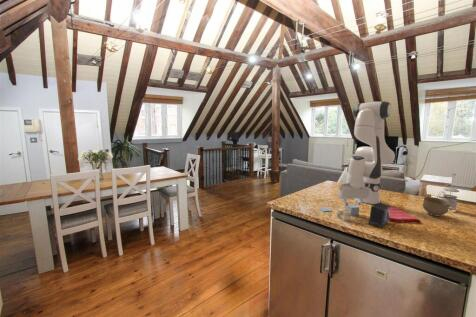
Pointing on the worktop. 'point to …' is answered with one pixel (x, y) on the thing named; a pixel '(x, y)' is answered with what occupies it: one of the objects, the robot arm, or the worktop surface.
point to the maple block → (343, 214)
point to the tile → (325, 209)
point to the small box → (379, 215)
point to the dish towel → (400, 215)
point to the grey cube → (353, 209)
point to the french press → (450, 196)
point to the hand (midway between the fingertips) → (351, 205)
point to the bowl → (435, 205)
